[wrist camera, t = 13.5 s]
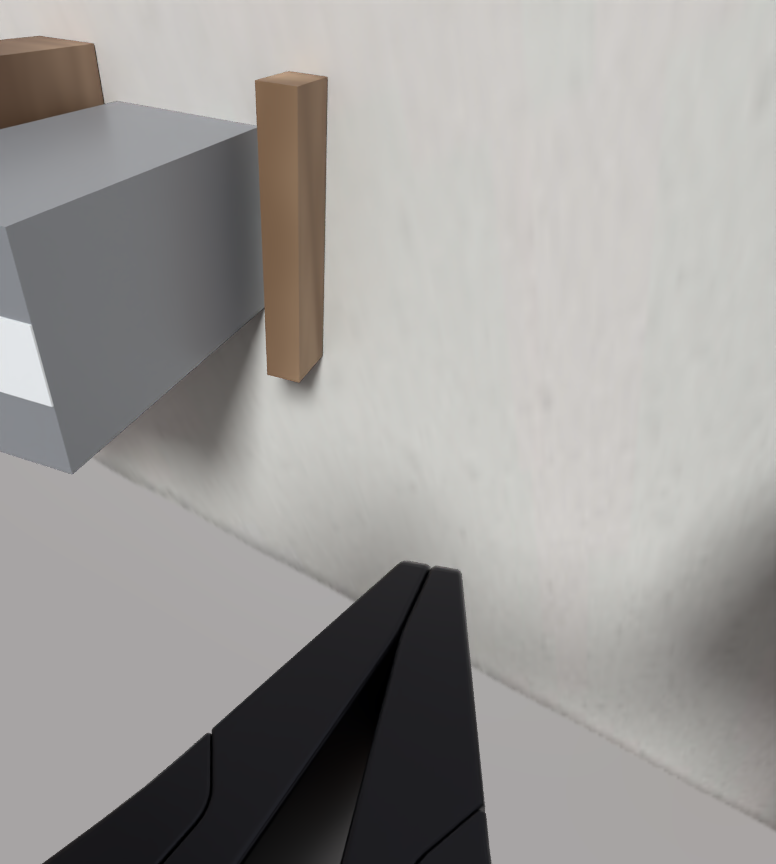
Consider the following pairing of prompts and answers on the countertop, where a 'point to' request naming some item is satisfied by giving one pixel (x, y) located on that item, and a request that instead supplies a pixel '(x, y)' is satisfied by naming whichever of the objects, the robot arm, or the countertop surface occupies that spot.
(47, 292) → the block
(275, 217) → the set of wooden blocks
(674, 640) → the countertop surface
